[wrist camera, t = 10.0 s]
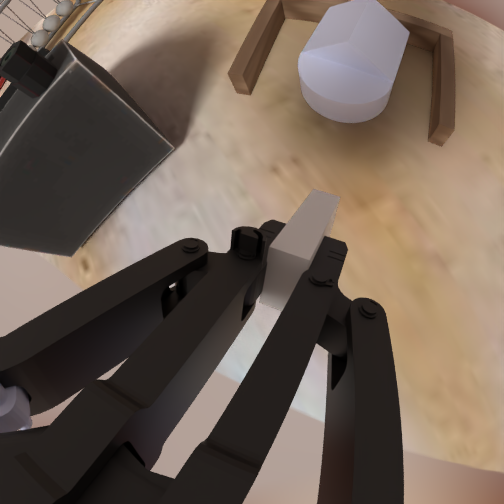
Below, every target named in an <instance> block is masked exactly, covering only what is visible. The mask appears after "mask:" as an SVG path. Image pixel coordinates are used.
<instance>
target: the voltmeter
mask: <svg viewBox="0 0 504 504" xmlns="http://www.w3.org/2000/svg"><path fill="white" fill-rule="evenodd" d="M0 76H2V77H3V78H5V79H6V80H8V81H10V82H11V84H10V85H9V87H8V88H7V89H6V91H5V92H4V93H3V95H2V96H1V97H0V246H5V247H10V248H16V249H22V250H29V251H34V252H40V253H47V254H53V255H59V256H66V257H72V256H73V255H74V254H75V253H76V251H77V250H78V249H79V248H80V247H81V245H82V244H83V243H84V242H85V241H86V239H87V238H88V237H89V236H90V235H91V234H92V232H93V231H94V230H95V229H96V228H97V227H98V226H99V225H100V223H101V222H102V221H103V220H104V219H105V218H106V217H107V216H108V215H109V213H110V212H111V211H112V210H113V209H114V208H115V207H116V206H117V205H118V204H119V203H120V202H121V201H122V199H123V198H124V197H125V196H126V195H127V194H128V193H129V192H130V191H131V190H132V189H133V188H134V187H135V186H136V185H137V184H138V183H139V182H140V181H141V180H142V179H143V178H144V177H145V176H146V175H147V174H148V173H149V172H150V171H151V170H152V169H153V168H154V167H155V166H156V165H157V164H158V163H159V162H161V161H162V160H163V159H164V158H165V157H166V156H167V155H168V154H169V153H170V152H171V151H172V150H173V149H174V147H173V146H172V144H171V143H170V142H169V141H168V140H167V139H166V137H165V136H164V135H163V134H162V133H161V132H160V130H159V129H158V128H157V127H156V126H155V125H154V123H153V122H152V121H151V120H150V119H149V118H148V117H147V115H146V114H145V113H144V112H143V111H142V110H141V108H140V107H139V106H138V105H137V104H136V103H135V102H134V100H133V99H132V98H131V97H130V96H129V95H128V93H127V92H126V91H125V90H124V89H123V88H122V87H121V85H120V84H119V83H118V82H117V81H116V80H115V79H114V78H113V77H112V76H111V75H110V74H109V73H108V72H107V71H106V70H105V69H104V68H103V67H102V66H100V65H99V64H97V63H96V62H95V61H93V60H92V59H90V58H89V57H88V56H86V55H85V54H83V53H82V52H80V51H79V50H78V49H76V48H75V47H73V46H72V45H70V44H69V43H67V42H66V41H65V40H63V39H62V40H61V41H60V42H59V43H58V44H57V45H56V46H55V47H54V48H53V49H52V50H51V51H49V50H47V49H45V48H43V47H42V48H41V49H40V50H39V51H38V52H37V51H34V50H33V49H32V48H30V47H29V46H28V45H27V44H25V43H24V42H23V41H21V40H20V41H18V42H16V43H13V44H12V46H11V47H10V48H9V49H8V50H7V52H6V53H5V54H4V55H3V57H2V58H1V59H0Z"/></svg>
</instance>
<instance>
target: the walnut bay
mask: <svg viewBox="0 0 504 504" xmlns="http://www.w3.org/2000/svg"><path fill="white" fill-rule="evenodd" d="M349 1H350V0H267V1H266V2H265V4H264V6H263V8H262V9H261V11H260V13H259V15H258V16H257V18H256V20H255V22H254V24H253V25H252V27H251V29H250V31H249V33H248V35H247V37H246V38H245V40H244V42H243V44H242V46H241V48H240V50H239V52H238V54H237V56H236V58H235V60H234V62H233V64H232V66H231V68H230V70H229V72H228V75H229V77H230V80H231V82H232V84H233V86H234V88H235V90H236V92H237V93H239V94H246V95H251V93H252V91H253V88H254V86H255V84H256V81H257V79H258V77H259V74H260V72H261V70H262V68H263V65H264V63H265V61H266V59H267V56H268V54H269V52H270V50H271V47H272V45H273V43H274V41H275V39H276V37H277V34H278V32H279V30H280V28H281V26H282V24H283V22H284V20H285V18H288V19H297V20H305V21H312V22H319V23H320V21H321V20H322V18H323V16H324V15H325V13H326V12H327V10H328V9H329V7H332V6H335V5H338V4H342V3H345V2H349ZM386 10H388V11H389V12H390V13H391V14H392V15H393V16H394V17H395V18H396V19H397V20H398V21H399V22H400V23H401V24H402V25H403V26H404V27H405V28H406V29H407V30H408V31H409V32H410V33H409V37H408V40H407V44H410V45H413V46H416V47H419V48H422V49H425V50H428V51H430V52H433V87H432V104H431V117H430V127H429V136H428V141H429V142H431V143H434V144H436V145H439V146H441V147H442V146H443V144H444V143H445V142H446V140H447V139H448V138H449V136H450V135H451V134H452V133H453V131H454V126H455V62H454V47H453V35H452V31H451V30H449V29H446V28H444V27H441V26H439V25H436V24H433V23H430V22H428V21H425V20H422V19H419V18H416V17H413V16H410V15H406V14H403V13H400V12H396V11H393V10H389V9H386Z"/></svg>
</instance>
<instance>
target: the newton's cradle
mask: <svg viewBox="0 0 504 504" xmlns="http://www.w3.org/2000/svg"><path fill="white" fill-rule="evenodd" d="M3 1H4V0H0V4H1V3H2V2H3ZM10 1H11V0H5V1H4V2H3V3H2V4H1V5H0V13H2V11H3V10H4V9H5V7H6V6H7V5H8V4H9V3H10ZM19 1H20V0H19ZM30 1H31V0H30ZM54 1H55V0H54ZM57 1H58V0H57ZM102 1H103V0H93V1H89V2H85V3H81V4H80V2H81V0H76V2H75V4H74V5H73V3H72V2H71V1H70V0H64V1H62V2H59V1H58V2H59V3H58V5H57V7H56V13H57V15H59V16H64V17H63V18H62V19H61V20H60V18H59V17H58V16H56V15H51V16H49V17H46V16H45V15H44V14H43V13H42V12H41V11H40V10H39V9H38V7H36V5H35V4H34V3H33V2H32V1H31V2H32V3H33V4H34V5H35V7H36V8H37V9H38V10H39V11H40V12H41V13H42V14H43V15H44V16H45V18H44V17H43V16H41V15H40V14H39V13H37V12H36V13H37V14H39V15H40V16H41V17H43V18H44V19H45V20H44V22H43V29H44V30H38V31H37V32H35V33H34V32H33V31H32V30H31V29H30V28H29V27H28V26H27V25H26V24H25V23H24V22H23V21H22V20H21V19H20V18H19V17H18V16H17V15H16V14H15V13H14V12H13V11H12V10H11V9H10V8H9V7H8V6H7V7H8V8H9V9H10V10H11V11H12V12H13V13H14V14H15V15H16V16H17V17H18V18H19V19H20V20H21V21H22V22H23V23H24V24H25V25H26V26H27V27H28V28H29V29H30V30H31V31H32V32H33V33H32V32H30V31H29V30H28V31H29V32H30V33H32V34H33V36H32V38H31V44H32V45H33V46H31V45H29V47H30V48H32V49H33V50H34V51H37V52H38V51H39V50H40V49H41V48H42V47H43V48H45V46H46V45H47V44H48V42H49V41H50V40H51V38H52V37H53V36H54V34H55V33H56V32H57V31H58V29H59V28H60V27H61V26H62V24H63V23H64V22H65V21H66V20H67V18H68V17H69V16H70V15H71V14H72V13H73V11H74V10H75V9H76V8H77V7H78V6H79V5H83V4H87V3H91V2H95V3H94V4H93V5H92V6H91V7H90V8H89V9H88V10H87V12H86V13H85V14H84V15H83V16H82V17H81V19H80V20H79V21H78V22H77V23H76V24H75V26H74V27H73V28H72V29H71V31H70V32H69V33H68V34H67V36H66V37H65V38H64V40H65V41H66V42H68V41H69V40H70V38H71V37H72V36H73V35H74V33H75V32H76V31H77V30H78V28H79V27H80V26H81V25H82V24H83V22H84V21H85V20H86V19H87V18H88V16H89V15H90V14H91V13H92V12H93V11H94V10H95V9H96V7H97V6H98V5H99V4H100V3H101V2H102ZM21 2H22V1H21ZM55 2H56V1H55ZM22 3H23V2H22ZM56 3H57V2H56ZM24 4H25V3H24ZM25 5H26V4H25ZM26 6H28V5H26ZM28 7H29V6H28ZM29 8H30V7H29ZM30 9H32V8H30ZM32 10H33V9H32ZM33 11H34V10H33ZM3 14H4V13H3ZM4 15H5V14H4ZM5 16H7V15H5ZM7 17H8V16H7ZM9 18H10V17H9ZM10 19H11V18H10ZM12 20H13V19H12ZM13 21H14V20H13ZM14 22H16V21H14ZM16 23H17V22H16ZM17 24H19V23H17ZM19 25H20V24H19ZM20 26H22V25H20ZM22 27H23V26H22ZM23 28H24V27H23ZM25 29H26V28H25ZM26 30H27V29H26ZM0 31H1V30H0ZM1 32H2V31H1ZM48 32H51V33H50V34H49V35H48ZM2 33H3V34H5V33H4V32H2ZM5 35H6V34H5ZM6 36H7V35H6ZM0 37H1V36H0ZM7 37H8V36H7ZM1 38H3V37H1ZM8 38H9V37H8ZM3 39H4V38H3ZM9 39H10V38H9ZM5 40H6V39H5ZM10 40H12V39H10ZM6 41H7V40H6ZM7 42H9V41H7ZM13 42H14V41H13ZM9 43H10V42H9ZM14 43H15V42H14ZM10 44H12V43H10ZM35 47H39V49H38V50H37V49H36V48H35ZM0 59H1V58H0Z"/></svg>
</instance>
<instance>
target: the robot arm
mask: <svg viewBox="0 0 504 504" xmlns="http://www.w3.org/2000/svg"><path fill="white" fill-rule="evenodd" d="M339 200H340V197H339V196H336V195H333V194H329V193H326V192H323V191H320V190H316V189H313V190H312V191H311V193H310V194H309V195H308V197H307V198H306V199H305V201H304V202H303V203H302V204H301V206H300V207H299V208H298V210H297V211H296V212H295V214H294V215H293V216H292V218H291V219H290V220H289V221H288V223H287V224H285V223H282V222H279V221H276V220H270V221H267V222H265V223H264V224H263V225H262V226H261V227H260V228H259V229H257V228H254V227H246V226H242V227H238V228H235V229H233V230H232V237H231V247H230V250H229V251H228V252H227V253H216V252H208V245H207V244H206V243H205V242H204V241H202V240H200V239H196V238H185V239H182V240H179V241H177V242H175V243H173V244H171V245H169V246H167V247H165V248H163V249H161V250H159V251H157V252H155V253H154V254H152V255H150V256H148V257H146V258H144V259H142V260H140V261H138V262H136V263H134V264H132V265H130V266H129V267H127V268H125V269H123V270H121V271H119V272H117V273H115V274H113V275H112V276H110V277H108V278H106V279H104V280H102V281H100V282H99V283H97V284H95V285H93V286H91V287H89V288H88V289H86V290H84V291H82V292H80V293H79V294H77V295H75V296H73V297H71V298H70V299H68V300H66V301H64V302H63V303H61V304H59V305H57V306H55V307H54V308H52V309H50V310H48V311H47V312H45V313H43V314H42V315H40V316H38V317H36V318H34V319H33V320H31V321H29V322H28V323H26V324H24V325H22V326H21V327H19V328H17V329H16V330H14V331H12V332H11V333H9V334H8V335H6V336H4V337H0V504H242V503H243V501H244V499H245V498H246V496H247V494H248V492H249V490H250V488H251V487H252V485H253V483H254V481H255V479H256V477H257V475H258V472H259V471H260V469H261V466H262V464H263V462H264V460H265V458H266V456H267V454H268V452H269V450H270V448H271V446H272V444H273V442H274V440H275V438H276V436H277V434H278V431H279V429H280V427H281V425H282V423H283V421H284V419H285V416H286V414H287V412H288V410H289V407H290V405H291V403H292V401H293V398H294V396H295V394H296V391H297V389H298V387H299V384H300V382H301V380H302V377H303V375H304V372H305V370H306V367H307V365H308V363H309V360H310V358H311V355H312V352H313V350H314V347H315V345H316V343H317V344H318V345H320V346H321V347H323V348H324V349H326V350H327V351H328V352H329V353H328V371H327V396H326V414H325V430H324V444H323V454H322V465H321V475H320V484H319V493H318V501H317V504H404V472H403V470H404V469H403V445H402V430H401V417H400V406H399V397H398V388H397V380H396V372H395V365H394V358H393V352H392V346H391V339H390V334H389V328H388V323H387V317H386V313H385V311H384V308H383V307H382V306H381V305H380V304H379V303H377V302H376V301H374V300H372V299H369V298H357V299H354V300H353V301H352V300H350V299H348V298H347V297H346V296H344V295H343V294H342V292H341V291H340V289H339V288H338V279H339V276H340V273H341V270H342V267H343V264H344V261H345V258H346V254H347V251H348V248H347V246H346V243H345V242H342V241H339V240H336V239H333V238H330V233H331V230H332V226H333V222H334V219H335V215H336V212H337V208H338V204H339ZM173 283H175V286H174V287H172V288H169V286H170V285H172V284H173ZM260 294H261V295H260ZM259 295H260V301H259V303H262V304H264V305H267V306H270V307H272V308H275V309H278V310H280V311H282V312H281V314H280V316H279V318H278V320H277V321H276V323H275V325H274V327H273V329H272V330H271V332H270V334H269V336H268V338H267V339H266V341H265V343H264V345H263V346H262V348H261V350H260V352H259V353H258V355H257V357H256V359H255V360H254V362H253V364H252V366H251V367H250V369H249V371H248V372H247V374H246V376H245V378H244V379H243V381H242V383H241V384H240V386H239V388H238V389H237V391H236V393H235V394H234V396H233V398H232V399H231V401H230V403H229V404H228V406H227V408H226V410H225V411H224V412H223V414H222V416H221V417H220V419H219V421H218V422H217V424H216V425H215V427H214V429H213V430H212V432H211V433H210V435H209V436H208V438H207V439H206V440H205V441H203V442H201V443H200V444H199V445H198V446H197V447H196V448H195V450H194V451H193V453H192V454H191V455H190V457H189V458H188V460H187V461H186V463H185V465H184V466H183V467H182V469H181V470H180V472H179V473H178V475H177V476H176V478H175V479H173V478H170V477H167V476H164V475H160V474H157V473H154V472H151V471H150V470H151V469H152V467H153V466H154V465H155V463H156V461H157V460H158V458H159V456H160V454H161V451H162V447H163V445H164V443H165V441H166V439H167V438H168V437H169V435H170V434H171V432H172V431H173V429H174V428H175V427H176V425H177V424H178V422H179V421H180V420H181V418H182V417H183V415H184V414H185V412H186V411H187V410H188V408H189V407H190V405H191V404H192V402H193V401H194V400H195V398H196V397H197V395H198V394H199V392H200V391H201V389H202V388H203V386H204V385H205V383H206V382H207V381H208V379H209V378H210V376H211V375H212V373H213V372H214V370H215V369H216V367H217V366H218V364H219V363H220V361H221V360H222V358H223V357H224V355H225V354H226V352H227V351H228V349H229V348H230V346H231V345H232V343H233V342H234V340H235V339H236V337H237V336H238V334H239V333H240V331H241V330H242V328H243V327H244V325H245V323H246V322H247V320H248V319H249V317H250V316H251V314H252V313H253V311H254V309H255V304H256V300H257V298H258V297H259ZM128 357H129V358H128ZM127 358H128V359H127ZM125 359H127V360H126V361H125V362H124V363H123V364H122V365H121V366H120V368H119V369H118V370H117V371H116V372H115V373H114V374H113V375H112V376H111V377H110V378H109V379H107V380H96V379H98V378H99V377H100V376H102V375H103V374H104V373H106V372H108V371H109V370H111V369H112V368H114V367H115V366H117V365H118V364H120V363H121V362H122V361H124V360H125ZM81 389H83V390H82V391H81V392H80V393H79V394H78V395H77V396H76V397H75V398H74V399H73V400H72V402H71V403H70V404H69V405H68V406H67V407H66V408H65V409H64V410H63V411H62V413H61V414H60V415H59V416H58V417H57V418H56V419H55V420H54V421H53V422H52V423H51V425H48V426H43V427H38V428H31V426H32V419H31V417H30V416H33V415H36V414H40V413H42V412H44V411H47V410H49V409H51V408H53V407H55V406H57V405H58V404H60V403H62V402H63V401H65V400H66V399H68V398H69V397H71V396H72V395H74V394H75V393H77V392H78V391H80V390H81ZM30 428H31V429H30ZM19 429H21V430H19ZM17 430H18V431H17Z"/></svg>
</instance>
